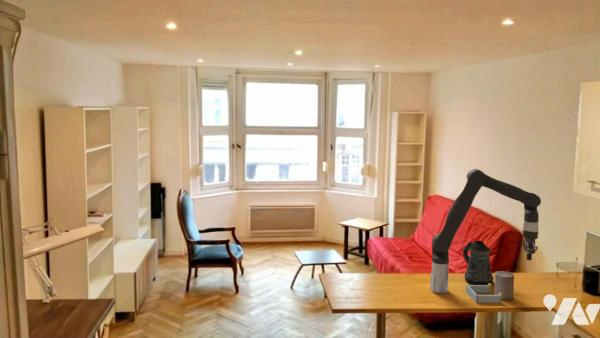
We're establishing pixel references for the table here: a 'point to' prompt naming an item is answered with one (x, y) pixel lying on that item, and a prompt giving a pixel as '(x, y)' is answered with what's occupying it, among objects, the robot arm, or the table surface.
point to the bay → (475, 289)
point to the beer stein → (478, 264)
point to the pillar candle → (504, 285)
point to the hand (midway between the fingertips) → (528, 259)
